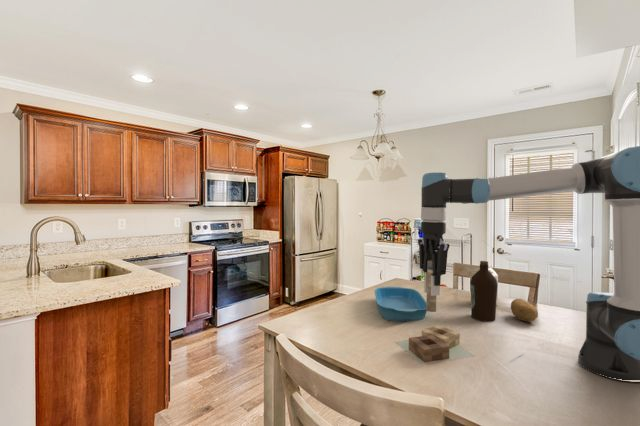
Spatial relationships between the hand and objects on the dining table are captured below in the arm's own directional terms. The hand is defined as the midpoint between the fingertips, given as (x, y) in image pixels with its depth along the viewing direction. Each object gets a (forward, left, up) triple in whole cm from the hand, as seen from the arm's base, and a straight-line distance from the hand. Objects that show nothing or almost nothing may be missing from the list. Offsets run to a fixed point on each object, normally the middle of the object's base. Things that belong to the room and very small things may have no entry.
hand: (431, 293), depth 101 cm
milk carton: (+40, -60, -21) cm, 76 cm away
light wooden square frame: (+6, -8, -20) cm, 23 cm away
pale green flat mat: (+3, -3, -21) cm, 22 cm away
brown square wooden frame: (0, +1, -20) cm, 20 cm away
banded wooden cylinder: (0, 0, -6) cm, 6 cm away
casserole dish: (+44, -13, -22) cm, 50 cm away
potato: (+18, -59, -21) cm, 66 cm away
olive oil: (+25, -44, -21) cm, 55 cm away
